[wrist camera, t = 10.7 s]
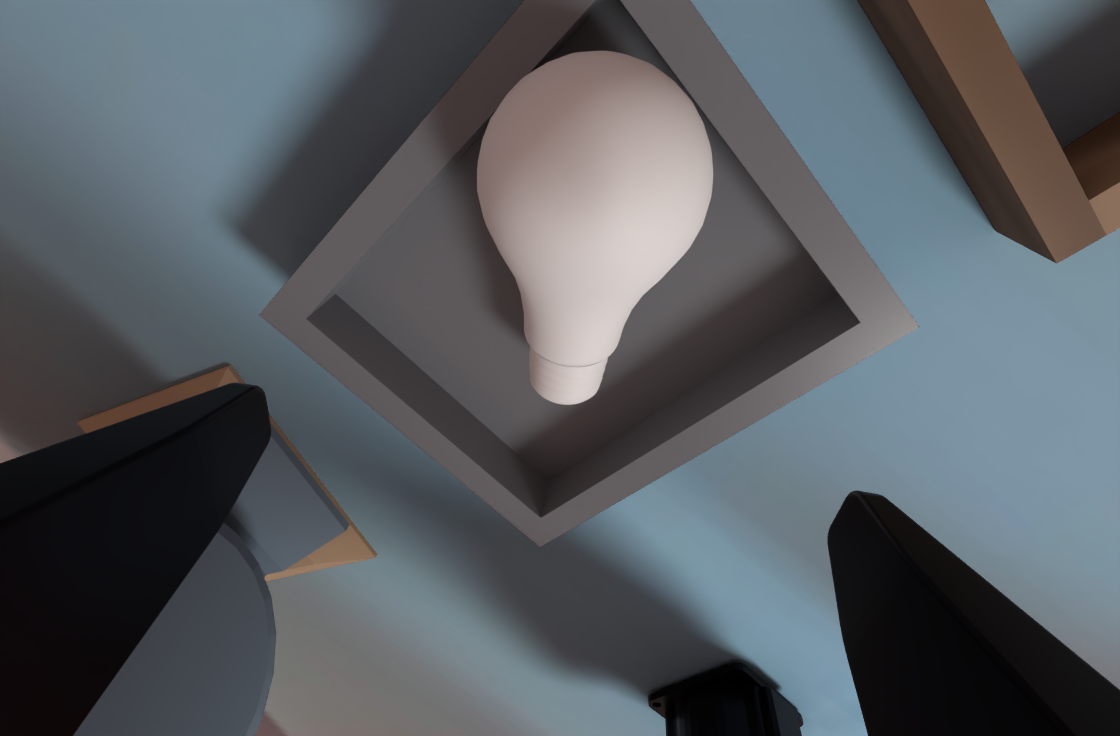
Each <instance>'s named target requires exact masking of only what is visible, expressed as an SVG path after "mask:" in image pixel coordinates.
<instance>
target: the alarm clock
mask: <svg viewBox="0 0 1120 736" xmlns="http://www.w3.org/2000/svg"><path fill="white" fill-rule="evenodd" d="M235 382H236V383H243V384H245V383H244V381H243V380H242V379H241V377H240V376H239V375H238V374H237V372H236V371H235V370H234V368H233V367H232V366H231V365H229V366H226V367H223V368H220V369H218V370H215V371H212V372H210V373H207V374H204V375H202V376H199V377H196V378H193V379H191V380H188V381H185V382H183V383H180V384H177V385H174V386H172V387H169V388H166V389H164V390H161V391H158V392H155V393H153V394H150V395H147V396H145V397H142V398H139V399H137V400H134V401H131V402H128V403H126V404H123V405H120V406H118V407H115V408H112V409H109V410H107V411H104V412H101V413H99V414H96V415H93V416H90V417H88V418H85V419H82V420H80V421H79V422H77V424H78V425H79V426H80V427H81V428H82V429H83V431H84V432H85V433H89V432H92V431H95V430H97V429H100V428H103V427H106V426H109V425H112V424H115V423H117V422H120V421H123V420H126V419H129V418H132V417H135V416H138V415H140V414H143V413H146V412H149V411H152V410H155V409H158V408H161V407H163V406H166V405H169V404H172V403H175V402H178V401H181V400H183V399H186V398H189V397H192V396H195V395H198V394H201V393H204V392H206V391H209V390H212V389H215V388H218V387H221V386H224V385H226V384H229V383H235ZM269 418H270V423H271V438H270V441H269V444H268V446H267V447H266V449H265V451H264V453H263V455H262V456H261V458H260V460H259V462H258V463H257V465H256V467H255V469H254V471H253V472H252V474H251V476H250V478H249V479H248V481H247V483H246V485H245V487H244V488H243V490H242V492H241V494H240V495H239V497H238V499H237V501H236V503H235V504H234V506H233V508H232V510H231V511H230V513H229V515H228V517H227V518H226V520H225V521H224V523H223V525H222V526H221V528H220V529H219V531H218V532H217V534H216V535H215V537H214V538H213V540H212V541H211V543H210V544H209V545H208V547H207V548H206V550H205V551H204V553H203V554H202V555H201V557H200V558H199V560H198V561H197V562H196V564H195V565H194V567H193V568H192V569H191V571H190V572H189V574H188V575H187V576H186V578H185V579H184V581H183V582H182V583H181V585H180V586H179V588H178V589H177V591H176V592H175V593H174V595H173V596H172V598H171V599H170V600H169V602H168V603H167V605H166V606H165V607H164V609H163V610H162V612H161V613H160V614H159V616H158V617H157V619H156V620H155V621H154V623H153V624H152V626H151V627H150V628H149V630H148V631H147V633H146V634H145V636H144V637H143V638H142V640H141V641H140V643H139V644H138V645H137V647H136V648H135V650H134V651H133V652H132V654H131V655H130V657H129V658H128V659H127V661H126V662H125V664H124V665H123V666H122V668H121V669H120V671H119V672H118V674H117V675H116V676H115V678H114V679H113V681H112V682H111V683H110V685H109V686H108V688H107V689H106V690H105V692H104V693H103V695H102V696H101V697H100V699H99V700H98V702H97V703H96V704H95V706H94V707H93V709H92V710H91V712H90V713H89V714H88V716H87V717H86V719H85V720H84V721H83V723H82V724H81V726H80V727H79V728H78V730H77V731H76V733H75V734H74V735H73V736H254V735H255V733H256V731H257V728H258V726H259V724H260V722H261V720H262V717H263V713H264V709H265V705H266V701H267V698H268V694H269V690H270V686H271V682H272V678H273V674H274V659H275V644H276V628H275V620H274V613H273V605H272V598H271V594H270V592H269V589H268V586H267V584H266V581H269V580H274V579H278V578H283V577H288V576H292V575H297V574H302V573H306V572H311V571H315V570H320V569H325V568H330V567H334V566H339V565H344V564H348V563H353V562H358V561H362V560H367V559H372V558H376V556H377V553H376V552H375V551H374V549H373V548H372V547H371V545H370V544H369V543H368V542H367V540H366V539H365V538H364V536H363V535H362V534H361V533H360V531H359V530H358V529H357V527H356V526H355V525H354V523H353V522H352V521H351V520H350V518H349V517H348V516H347V514H346V513H345V512H344V511H343V509H342V508H341V507H340V505H339V504H338V503H337V501H336V500H335V499H334V498H333V496H332V495H331V494H330V492H329V491H328V490H327V489H326V487H325V486H324V485H323V483H322V482H321V481H320V480H319V478H318V477H317V476H316V474H315V473H314V472H313V470H312V469H311V468H310V467H309V465H308V464H307V463H306V461H305V460H304V459H303V458H302V456H301V455H300V454H299V452H298V451H297V450H296V448H295V447H294V446H293V445H292V443H291V442H290V441H289V439H288V438H287V437H286V436H285V434H284V433H283V432H282V430H281V429H280V428H279V427H278V425H277V424H276V423H275V421H274V420H273V419H272V417H271V416H270V415H269Z"/></svg>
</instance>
